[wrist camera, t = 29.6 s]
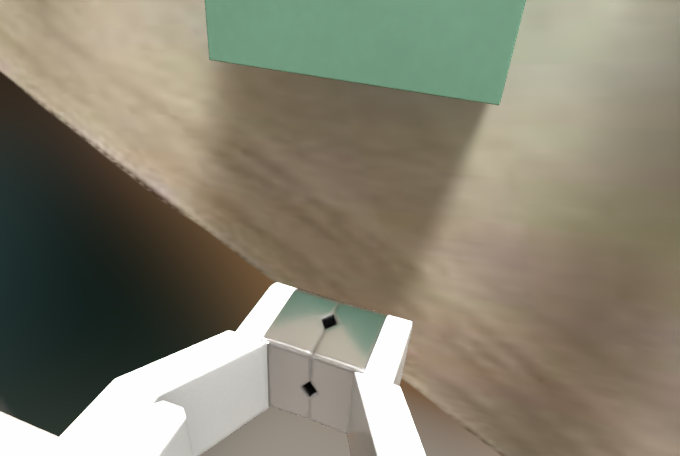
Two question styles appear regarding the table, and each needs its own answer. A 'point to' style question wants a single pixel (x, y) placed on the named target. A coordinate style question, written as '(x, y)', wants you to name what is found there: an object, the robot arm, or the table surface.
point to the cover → (374, 41)
